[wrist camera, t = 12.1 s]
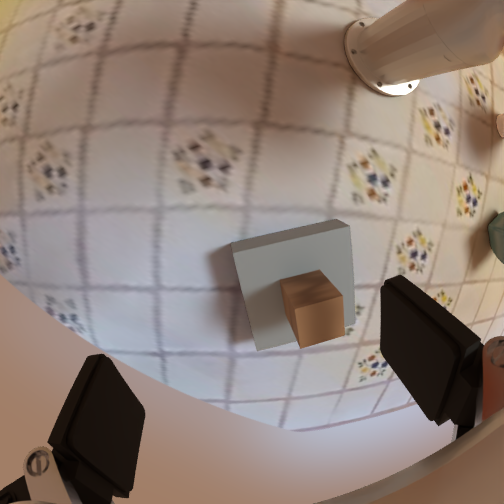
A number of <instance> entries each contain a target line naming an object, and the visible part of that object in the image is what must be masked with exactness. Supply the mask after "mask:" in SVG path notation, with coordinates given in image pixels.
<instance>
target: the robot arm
mask: <svg viewBox="0 0 504 504" xmlns="http://www.w3.org/2000/svg"><path fill="white" fill-rule="evenodd" d="M344 43H345V51H346V55H347V58H348V60H349V63H350V65H351V66H352V68H353V70H354V71H355V72H356V74H357V75H358V76H359V77H360V79H362V80H363V81H364V82H365V83H366V84H367V85H368V86H370V87H371V88H372V89H374V90H376V91H377V92H379V93H382V94H385V95H387V96H402V95H406V94H408V93H410V92H412V91H413V90H414V89H415V88H416V86H417V85H418V83H419V80H420V79H423V78H427V77H430V76H434V75H438V74H442V73H447V72H451V71H455V70H460V69H465V68H470V67H475V66H480V65H485V64H488V63H491V62H493V61H494V60H495V59H496V58H497V57H498V56H499V55H500V53H501V51H502V49H503V46H504V0H406V1H405V2H403V3H402V4H400V5H399V6H397V7H396V8H394V9H393V10H391V11H390V12H388V13H387V14H385V15H384V16H382V17H381V18H379V19H377V18H363V19H360V20H358V21H356V22H355V23H353V24H352V25H351V26H350V27H349V29H348V30H347V32H346V35H345V40H344ZM380 293H381V335H380V350H381V353H382V355H383V357H384V358H385V360H386V361H387V362H388V364H389V365H390V366H391V368H392V369H393V370H394V372H395V373H396V375H397V376H398V377H399V379H400V380H401V381H402V383H403V384H404V386H405V387H406V388H407V390H408V391H409V393H410V394H411V395H412V397H413V398H414V400H415V401H416V402H417V404H418V405H419V407H420V408H421V410H422V411H423V412H424V414H425V415H426V417H427V418H428V419H429V420H430V421H433V420H434V421H435V422H436V424H437V425H438V426H439V425H441V424H443V423H444V422H446V421H447V420H449V419H451V421H452V422H453V423H454V431H453V437H452V442H451V443H450V444H449V445H447V446H445V447H444V448H442V449H440V450H439V451H437V452H435V453H434V454H432V455H430V456H428V457H426V458H425V459H423V460H421V461H419V462H417V463H415V464H414V465H412V466H410V467H408V468H406V469H404V470H402V471H400V472H398V473H396V474H393V475H391V476H389V477H387V478H385V479H383V480H380V481H378V482H375V483H373V484H370V485H368V486H365V487H363V488H360V489H358V490H355V491H352V492H350V493H347V494H344V495H341V496H338V497H335V498H332V499H328V500H325V501H321V502H318V503H314V504H504V336H498V337H494V338H492V339H490V340H489V341H487V342H486V343H485V345H483V344H482V343H481V342H480V341H481V338H479V337H478V336H477V335H476V334H475V333H474V332H472V331H471V330H470V329H469V328H468V327H467V326H465V325H464V324H463V323H462V322H461V321H459V320H458V319H457V318H456V317H455V316H453V315H452V314H451V313H450V312H449V311H447V310H446V309H445V308H444V307H442V306H441V305H440V304H439V303H437V302H436V301H435V300H434V299H432V298H431V297H430V296H428V295H427V294H426V293H425V292H423V291H422V290H421V289H419V288H418V287H417V286H416V285H414V284H413V283H412V282H410V281H409V280H408V279H406V278H405V277H404V276H402V275H398V276H395V277H393V278H390V279H387V280H385V282H384V285H383V286H382V287H381V290H380ZM144 420H145V410H144V408H143V406H142V404H141V403H140V402H139V400H138V399H137V397H136V396H135V395H134V393H133V392H132V390H131V389H130V388H129V386H128V385H127V383H126V382H125V381H124V379H123V378H122V376H121V375H120V373H119V372H118V370H117V369H116V367H115V365H114V364H113V362H112V360H111V359H110V358H109V357H106V356H105V355H104V354H97V355H91V356H88V357H87V358H86V360H85V362H84V364H83V366H82V368H81V370H80V372H79V374H78V376H77V378H76V380H75V382H74V384H73V386H72V388H71V390H70V392H69V394H68V396H67V399H66V401H65V403H64V405H63V407H62V409H61V412H60V414H59V416H58V419H57V420H56V423H55V425H54V428H53V430H52V432H51V435H50V437H49V439H48V443H49V444H50V445H51V446H52V447H53V450H52V451H51V450H49V449H48V448H47V447H37V448H34V449H33V450H32V451H30V452H29V454H28V455H27V456H26V458H25V460H24V464H23V470H24V476H22V477H20V478H19V479H17V480H16V481H14V482H13V483H11V484H9V485H8V486H6V487H5V488H3V489H2V490H1V491H0V504H114V502H113V501H112V496H113V495H114V496H115V497H121V498H129V492H130V491H131V490H132V489H133V484H134V478H135V470H136V464H137V459H138V453H139V447H140V441H141V436H142V430H143V425H144Z"/></svg>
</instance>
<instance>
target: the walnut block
mask: <svg viewBox="0 0 504 504" xmlns="http://www.w3.org/2000/svg"><path fill="white" fill-rule="evenodd" d="M280 286H281V291H282V297H283V303H284V308H285V314H286V317H287V319H288V321H289V324H290V326H291V328H292V330H293V333H294V335H295V337H296V340H297V342H298V344H299V346H300V349H301V348H304V347H308V346H311V345H315V344H318V343H321V342H325V341H328V340H331V339H334V338H338V337H341V336H344V335H345V328H344V305H343V295H342V294H341V293H340V292H339V291H338V289H337V288H336V287H335V286H334V285H333V284H332V283H331V282H330V280H329V279H328V278H327V277H326V276H325V275H324V274H323V273H322V271H321V270H320V269H319V270H316V271H312V272H308V273H304V274H300V275H296V276H292V277H288V278H284V279H280Z"/></svg>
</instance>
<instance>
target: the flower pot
mask: <svg viewBox="0 0 504 504" xmlns="http://www.w3.org/2000/svg"><path fill="white" fill-rule="evenodd" d="M488 232H489V239H490V246H491V248H492V250H493V252H494V253H495V255H496V257H497V258H498V259H499V260H500V261H501V262H502V263H503V264H504V212H502V213H500V214H498V215H497V217H496V218H495V219H494V220H493V221H492V222H491V223H490V224H489V225H488Z"/></svg>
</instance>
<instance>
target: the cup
mask: <svg viewBox="0 0 504 504" xmlns="http://www.w3.org/2000/svg"><path fill="white" fill-rule="evenodd" d="M496 124H497V129H498V132H499V134H500V136H501V137H502V138H504V114H500V115H498V116H497V120H496Z"/></svg>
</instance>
